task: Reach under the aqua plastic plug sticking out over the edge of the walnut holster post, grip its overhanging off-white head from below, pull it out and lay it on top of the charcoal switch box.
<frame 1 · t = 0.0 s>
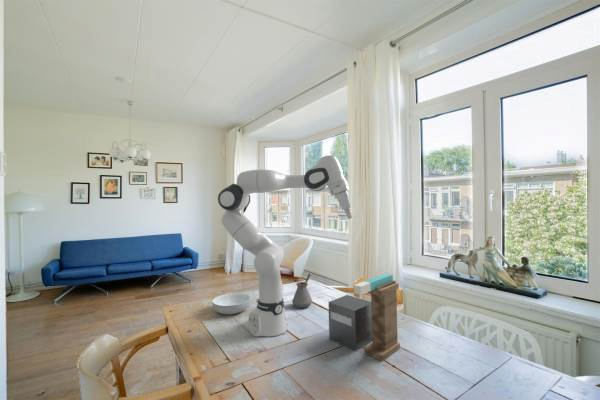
hand: (349, 217, 126), 52 cm above the table, tool tilted 20°, fingers open, 8 cm apart
coffee pot: (305, 303, 165), on the table
plug: (374, 287, 108), point 26 cm above the table, touching holster post
serving bowl: (231, 311, 155), on the table
switch box: (351, 339, 120), on the table
holster post: (382, 350, 111), on the table
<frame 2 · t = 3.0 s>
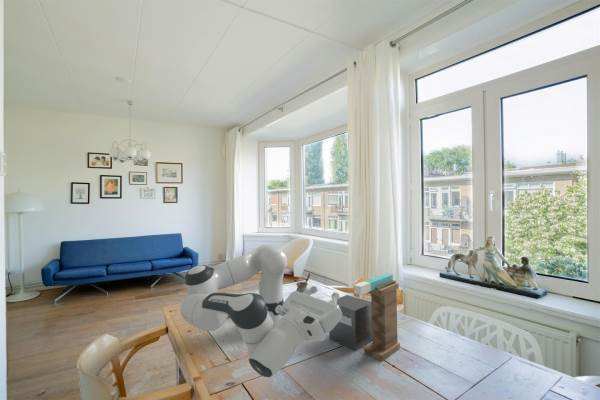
hand: (325, 290, 89), 31 cm above the table, tool pointing upward, fingers open, 8 cm apart
nothing on the table moved.
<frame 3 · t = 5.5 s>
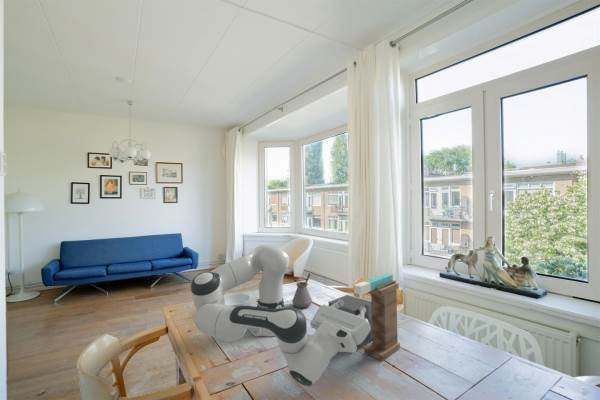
hand: (352, 304, 97), 23 cm above the table, tool pointing upward, fingers open, 8 cm apart
nothing on the table moved.
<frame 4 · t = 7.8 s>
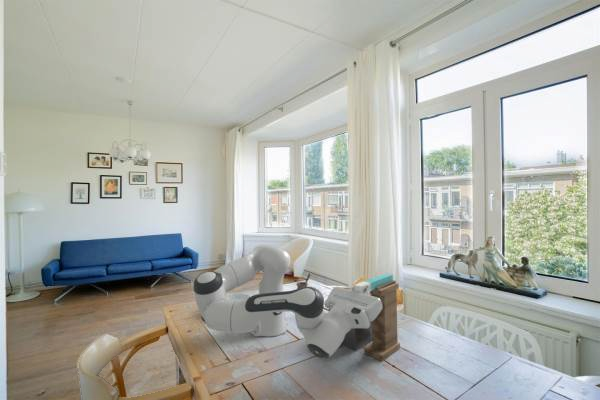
hand: (364, 286, 103), 28 cm above the table, tool pointing upward, fingers closed on plug, 3 cm apart
plug: (374, 287, 108), point 26 cm above the table, touching gripper, holster post
everything else where it was.
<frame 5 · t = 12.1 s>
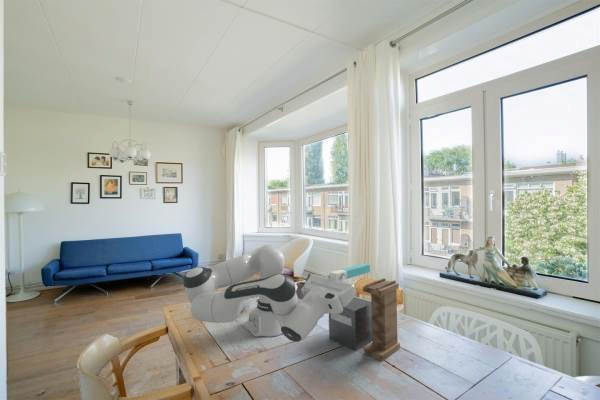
hand: (340, 273, 105), 32 cm above the table, tool pointing upward, fingers closed on plug, 3 cm apart
plug: (351, 275, 110), point 30 cm above the table, touching gripper
everything else where it was.
when the fingers open (19 cm above the table, at t = 16.6 s): plug stays where it is, resting on switch box.
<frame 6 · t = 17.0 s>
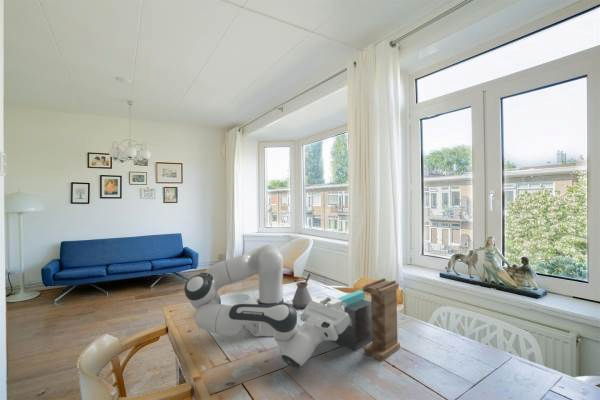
hand: (336, 300, 114), 19 cm above the table, tool pointing upward, fingers open, 7 cm apart
plug: (347, 303, 118), point 16 cm above the table, touching switch box
everything else where it was.
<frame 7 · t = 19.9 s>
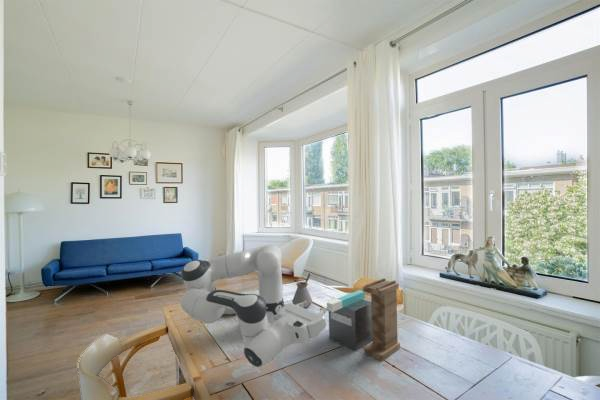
hand: (315, 305, 105), 20 cm above the table, tool pointing upward, fingers open, 8 cm apart
nothing on the table moved.
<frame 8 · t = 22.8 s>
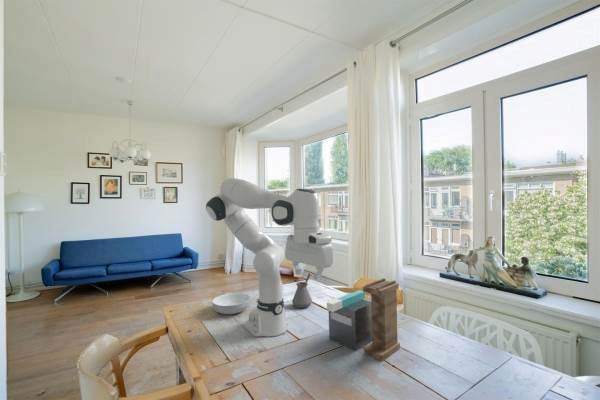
hand: (307, 276, 95), 34 cm above the table, tool pointing down, fingers open, 8 cm apart
nothing on the table moved.
at the end: plug inside the target area on the switch box (1.1 cm from its centre), point 16.0 cm above the switch box's base; the gripper is holding nothing; plug moved 17.2 cm from its start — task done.
